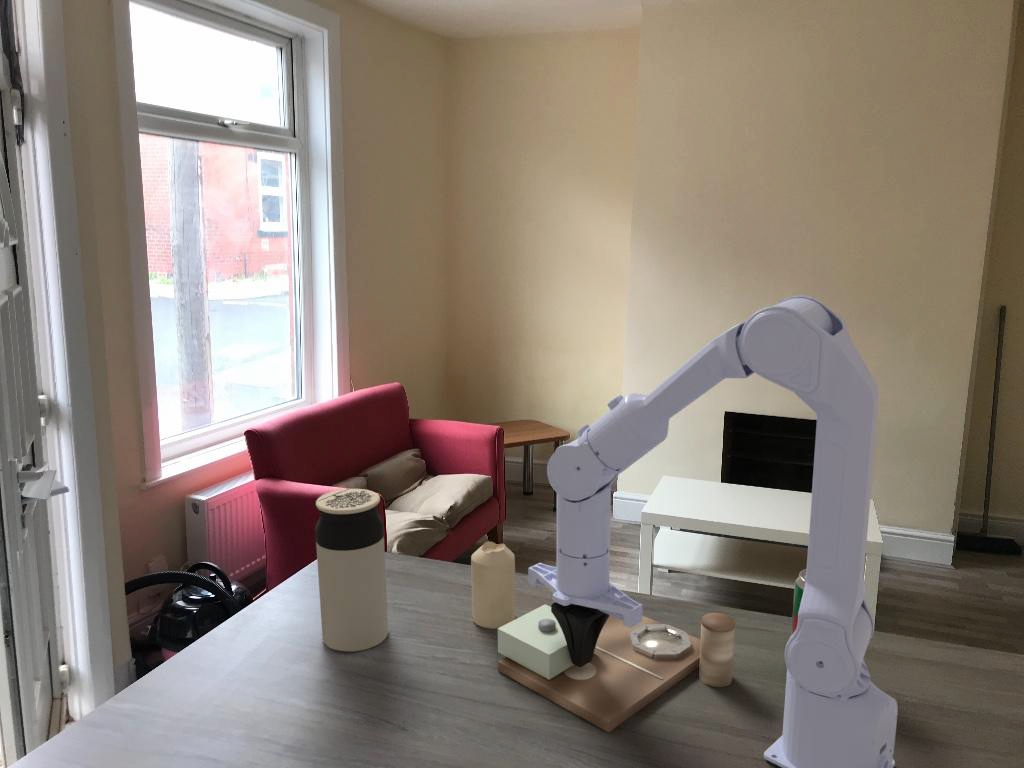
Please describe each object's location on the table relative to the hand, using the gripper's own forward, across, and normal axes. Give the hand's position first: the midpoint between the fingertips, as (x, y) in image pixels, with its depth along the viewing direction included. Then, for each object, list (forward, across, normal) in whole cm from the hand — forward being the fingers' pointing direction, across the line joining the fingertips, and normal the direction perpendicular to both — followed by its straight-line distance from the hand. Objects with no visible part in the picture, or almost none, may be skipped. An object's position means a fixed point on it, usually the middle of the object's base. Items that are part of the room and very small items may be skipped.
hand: (581, 661), depth 91 cm
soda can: (+3, +18, +19) cm, 26 cm away
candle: (+3, -17, +3) cm, 18 cm away
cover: (+1, -5, 0) cm, 5 cm away
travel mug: (+3, -26, -12) cm, 29 cm away
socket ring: (+1, +3, +11) cm, 11 cm away
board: (+2, 0, +5) cm, 6 cm away
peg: (+2, +10, +11) cm, 15 cm away
